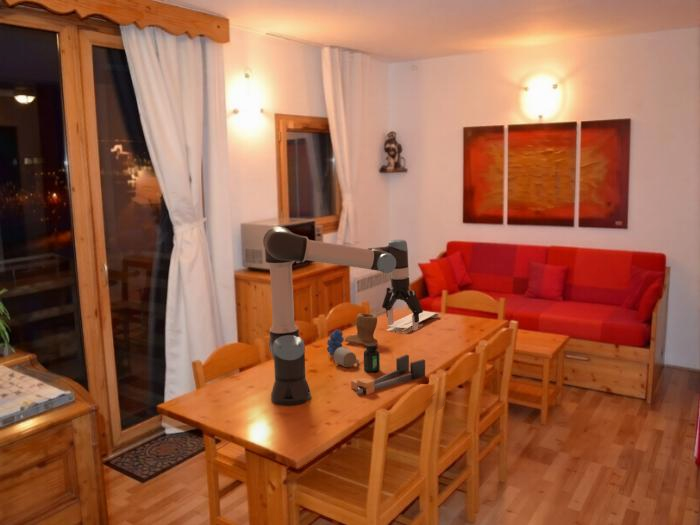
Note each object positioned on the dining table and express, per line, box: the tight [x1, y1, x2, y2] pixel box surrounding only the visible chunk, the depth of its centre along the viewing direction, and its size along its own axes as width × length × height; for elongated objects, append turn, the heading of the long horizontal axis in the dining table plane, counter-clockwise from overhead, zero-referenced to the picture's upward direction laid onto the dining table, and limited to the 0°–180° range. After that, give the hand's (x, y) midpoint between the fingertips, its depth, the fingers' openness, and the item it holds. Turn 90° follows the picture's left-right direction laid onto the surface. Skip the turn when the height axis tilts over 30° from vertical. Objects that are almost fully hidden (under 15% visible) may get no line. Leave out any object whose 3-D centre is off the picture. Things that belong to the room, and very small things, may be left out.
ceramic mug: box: [333, 346, 360, 368], centre depth 267 cm, size 11×8×8 cm
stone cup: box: [344, 313, 378, 346], centre depth 298 cm, size 15×12×15 cm
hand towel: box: [385, 310, 440, 335], centre depth 332 cm, size 12×4×40 cm
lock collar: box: [350, 377, 375, 396], centre depth 235 cm, size 4×9×4 cm, turn 43°
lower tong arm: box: [374, 358, 426, 392], centre depth 241 cm, size 30×1×7 cm, turn 127°
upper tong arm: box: [356, 354, 410, 396], centre depth 244 cm, size 34×3×7 cm, turn 139°
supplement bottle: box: [363, 343, 381, 374], centre depth 257 cm, size 7×7×12 cm
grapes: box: [326, 329, 345, 357], centre depth 281 cm, size 12×7×12 cm, turn 144°
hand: (403, 327), depth 251 cm, fingers open, 13 cm apart
